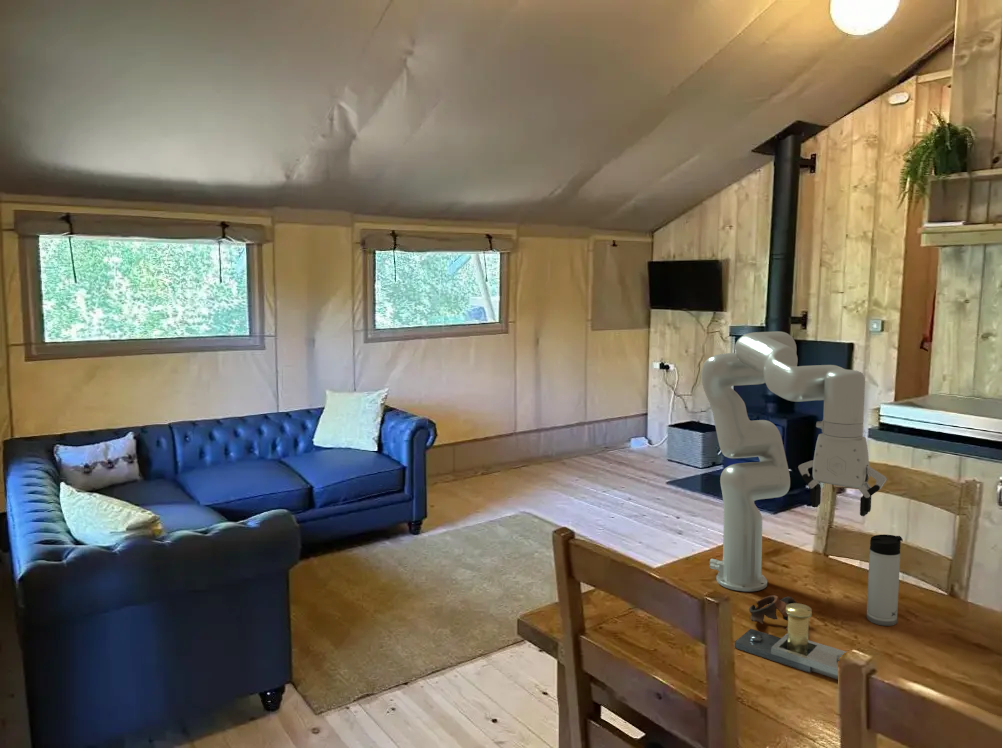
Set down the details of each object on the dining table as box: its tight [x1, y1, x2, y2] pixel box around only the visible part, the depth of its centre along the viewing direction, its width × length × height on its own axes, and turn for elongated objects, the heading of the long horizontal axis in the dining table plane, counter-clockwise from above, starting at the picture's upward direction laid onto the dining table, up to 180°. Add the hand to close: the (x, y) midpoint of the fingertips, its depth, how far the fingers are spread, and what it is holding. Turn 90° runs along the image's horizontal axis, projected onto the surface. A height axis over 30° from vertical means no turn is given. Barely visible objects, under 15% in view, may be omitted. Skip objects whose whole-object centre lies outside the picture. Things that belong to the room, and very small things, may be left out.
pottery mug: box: [748, 594, 797, 633], centre depth 172 cm, size 12×10×8 cm
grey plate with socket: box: [734, 628, 847, 680], centre depth 157 cm, size 24×8×3 cm, turn 48°
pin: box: [786, 602, 813, 656], centre depth 156 cm, size 5×5×11 cm
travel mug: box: [866, 534, 903, 627], centre depth 172 cm, size 6×7×20 cm
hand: (839, 510), depth 158 cm, fingers open, 9 cm apart
